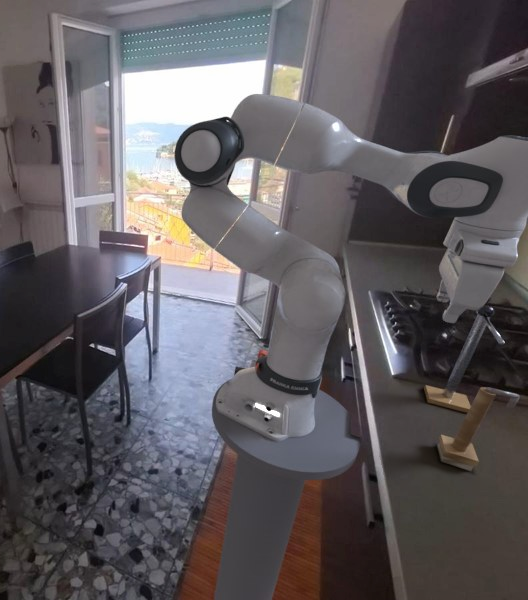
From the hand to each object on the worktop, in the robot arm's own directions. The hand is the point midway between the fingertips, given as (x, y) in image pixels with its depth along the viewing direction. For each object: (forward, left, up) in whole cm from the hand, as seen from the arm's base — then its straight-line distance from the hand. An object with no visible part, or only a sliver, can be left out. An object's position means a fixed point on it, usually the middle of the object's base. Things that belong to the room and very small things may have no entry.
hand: (444, 310), depth 67 cm
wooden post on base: (+9, -5, -29) cm, 31 cm away
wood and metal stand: (+11, +12, -29) cm, 33 cm away
